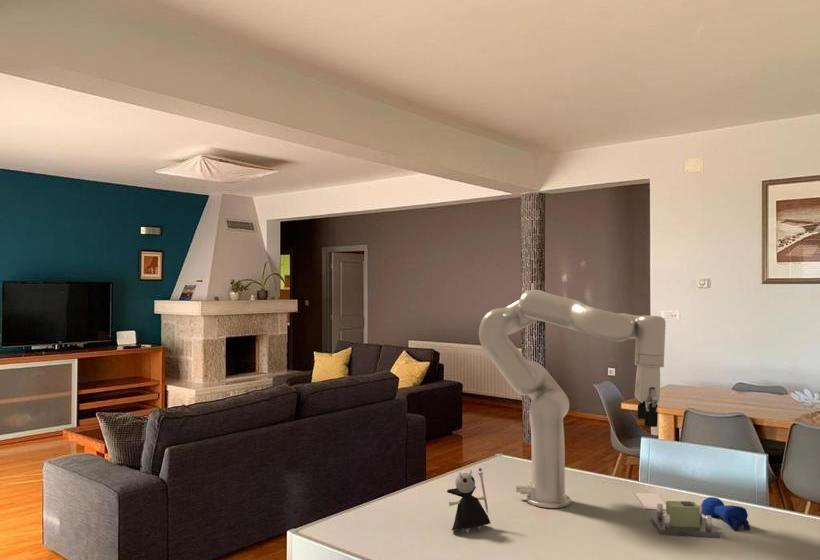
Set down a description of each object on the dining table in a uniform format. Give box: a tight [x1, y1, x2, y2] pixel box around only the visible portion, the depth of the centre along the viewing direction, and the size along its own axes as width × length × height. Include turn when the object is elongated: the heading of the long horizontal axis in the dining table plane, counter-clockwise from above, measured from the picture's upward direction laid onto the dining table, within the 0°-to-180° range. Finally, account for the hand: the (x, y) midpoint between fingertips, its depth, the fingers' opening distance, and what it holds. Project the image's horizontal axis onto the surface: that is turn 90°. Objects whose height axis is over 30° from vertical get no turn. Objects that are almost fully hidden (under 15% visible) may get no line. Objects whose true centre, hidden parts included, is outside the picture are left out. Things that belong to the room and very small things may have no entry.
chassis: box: [650, 504, 720, 538], centre depth 163 cm, size 14×10×5 cm
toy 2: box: [700, 496, 751, 532], centre depth 169 cm, size 7×6×15 cm
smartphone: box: [633, 492, 666, 511], centre depth 184 cm, size 7×1×15 cm
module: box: [665, 500, 700, 527], centre depth 163 cm, size 7×4×5 cm, turn 82°
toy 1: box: [446, 467, 492, 533], centre depth 164 cm, size 12×7×15 cm, turn 117°
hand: (646, 422), depth 174 cm, fingers open, 9 cm apart
